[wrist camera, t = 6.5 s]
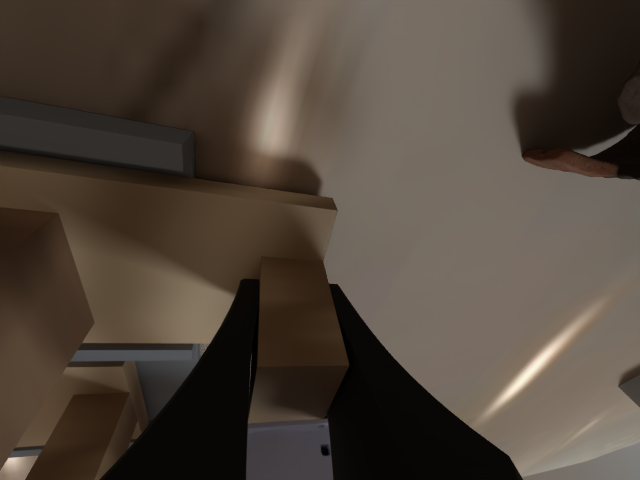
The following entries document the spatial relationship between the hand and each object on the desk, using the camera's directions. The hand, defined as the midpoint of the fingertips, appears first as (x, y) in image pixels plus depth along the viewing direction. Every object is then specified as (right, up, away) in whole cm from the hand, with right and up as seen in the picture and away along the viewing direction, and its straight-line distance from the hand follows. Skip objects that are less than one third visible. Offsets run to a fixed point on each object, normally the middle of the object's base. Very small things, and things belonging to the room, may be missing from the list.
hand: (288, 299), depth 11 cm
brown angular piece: (-6, +2, 0) cm, 6 cm away
